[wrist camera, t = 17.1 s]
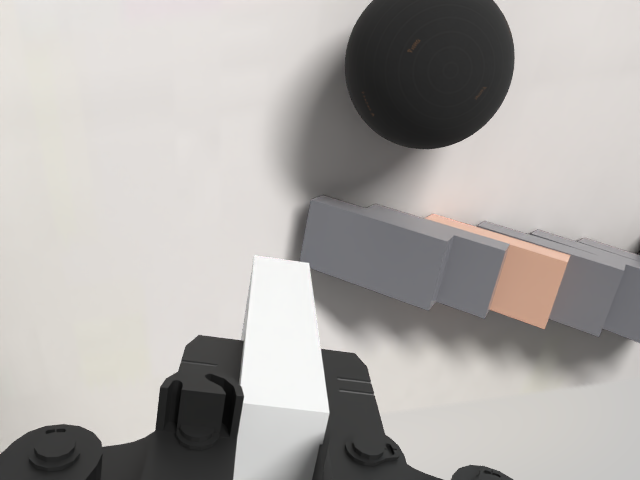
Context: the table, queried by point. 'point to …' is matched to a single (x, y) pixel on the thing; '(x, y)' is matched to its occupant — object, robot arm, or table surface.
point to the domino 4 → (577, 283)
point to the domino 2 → (464, 265)
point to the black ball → (429, 68)
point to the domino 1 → (376, 251)
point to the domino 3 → (522, 276)
